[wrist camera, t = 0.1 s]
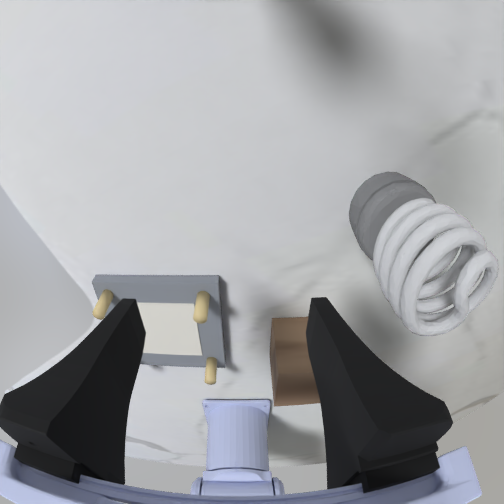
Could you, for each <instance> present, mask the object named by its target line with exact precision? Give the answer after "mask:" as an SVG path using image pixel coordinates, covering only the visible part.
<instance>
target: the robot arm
mask: <svg viewBox="0 0 504 504" xmlns="http://www.w3.org/2000/svg"><path fill="white" fill-rule="evenodd" d="M145 337H146V331H145V328H144V325H143V321H142V318H141V315H140V311H139V308H138V305H137V301H136V299H128V298H123V299H122V300H121V301H120V302H119V303H118V304H117V305H116V306H115V307H114V308H113V309H112V310H111V311H110V313H109V314H108V315H107V316H106V317H105V318H104V319H103V320H102V321H101V322H100V324H99V325H98V326H97V327H96V328H95V329H94V330H93V331H92V332H91V333H90V334H89V335H88V336H87V337H86V338H85V339H84V340H83V341H82V342H81V343H80V344H79V345H78V346H77V347H76V348H75V349H74V350H73V351H71V352H70V353H69V354H68V355H67V356H66V357H64V358H63V359H62V360H61V361H60V362H58V363H57V364H55V365H54V366H53V367H51V368H50V369H49V370H47V371H46V372H44V373H43V374H42V375H40V376H38V377H37V378H35V379H34V380H32V381H30V382H28V383H27V384H25V385H23V386H21V387H19V388H17V389H15V390H13V391H11V392H9V393H6V394H5V395H4V397H3V399H2V401H1V404H0V427H1V428H2V429H3V430H4V431H5V432H6V433H7V434H8V435H9V436H11V437H12V438H13V439H14V440H16V441H17V442H18V445H17V448H15V447H14V446H12V445H10V444H8V443H6V442H4V441H2V440H0V495H1V496H3V497H5V498H7V499H9V500H10V501H12V502H14V503H16V504H124V503H128V504H467V503H468V502H470V501H472V500H474V499H476V498H478V497H480V496H481V495H482V492H481V488H480V485H479V482H478V479H477V476H476V473H475V469H474V467H473V463H472V461H471V458H470V455H469V452H468V449H467V447H466V446H463V447H461V448H458V449H456V450H453V451H451V452H448V453H446V454H444V455H442V456H440V457H438V458H437V456H436V453H435V452H436V451H438V446H437V443H436V441H438V440H439V439H440V438H441V437H442V436H443V435H444V434H445V433H446V432H447V431H448V430H449V429H450V428H451V426H452V424H453V421H452V418H451V416H450V413H449V410H448V408H447V406H446V404H445V402H444V401H442V400H440V399H438V398H436V397H434V396H432V395H430V394H428V393H426V392H425V391H423V390H421V389H420V388H418V387H416V386H415V385H413V384H411V383H410V382H408V381H407V380H406V379H404V378H403V377H401V376H400V375H399V374H397V373H396V372H395V371H393V370H392V369H391V368H390V367H388V366H387V365H386V364H385V363H384V362H382V361H381V360H380V359H379V358H378V357H377V356H376V355H375V354H374V353H373V352H372V351H371V350H370V349H369V348H368V347H367V346H366V345H365V344H364V343H363V342H362V341H361V340H360V339H359V337H358V336H357V335H356V334H355V333H354V332H353V330H352V329H351V328H350V327H349V326H348V325H347V323H346V322H345V321H344V320H343V318H342V317H341V316H340V314H339V313H338V312H337V311H336V309H335V308H334V307H333V305H332V304H331V303H330V301H329V300H328V299H327V298H326V297H321V298H311V304H310V310H309V316H308V322H307V328H306V340H307V347H308V354H309V359H310V362H311V366H312V370H313V374H314V378H315V382H316V386H317V390H318V394H319V398H320V403H321V409H322V417H323V425H324V435H325V446H326V461H327V490H320V491H313V492H304V493H295V494H285V493H284V486H283V483H282V482H281V481H280V480H279V479H278V478H277V477H273V478H272V473H271V471H269V459H268V444H267V428H268V419H269V411H270V401H269V400H203V403H202V404H203V408H204V412H205V416H206V420H207V423H208V439H207V460H206V471H203V477H198V478H197V479H196V480H195V481H194V482H193V483H192V487H191V493H190V494H182V493H172V492H164V491H156V490H149V489H143V488H137V487H132V486H127V485H124V484H125V467H124V457H125V437H126V426H127V417H128V410H129V403H130V399H131V394H132V391H133V387H134V383H135V380H136V376H137V373H138V369H139V366H140V362H141V359H142V355H143V350H144V344H145ZM113 500H114V501H113ZM117 501H118V502H117ZM120 502H123V503H120Z"/></svg>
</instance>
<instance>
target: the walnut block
mask: <svg viewBox="0 0 504 504" xmlns="http://www.w3.org/2000/svg"><path fill="white" fill-rule="evenodd" d="M307 322H308V317H295V318H272V328H271V342H270V365H271V376H272V388H273V399H274V406H288V405H302V404H314V403H320V398H319V394H318V390H317V386H316V382H315V378H314V374H313V370H312V366H311V362H310V359H309V354H308V347H307V340H306V328H307Z"/></svg>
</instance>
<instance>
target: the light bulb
mask: <svg viewBox="0 0 504 504" xmlns="http://www.w3.org/2000/svg"><path fill="white" fill-rule="evenodd" d="M349 219H350V224H351V227H352V229H353V232H354V234H355V236H356V239H357V241H358V243H359V245H360V248H361V250H363V251H364V252H365V253H366V255H367V256H368V257H369V258H370V259H371V260H373V263H374V270H375V273H376V276H377V278H378V280H379V282H380V286H381V289H382V291H383V293H384V296H385V297H386V299H387V300H388V301H389V302H390V304H391V306H392V308H393V310H394V312H395V313H396V315H397V316H398V317H399V318H400V319H402V321H403V324H404V325H405V326H406V327H407V328H408V329H409V330H410V331H411V332H412V333H415V334H418V335H421V336H436V335H440V334H444V333H447V332H449V331H451V330H453V329H454V328H456V327H457V326H459V325H460V324H461V323H462V322H463V321H464V320H465V318H466V316H467V314H469V313H470V312H471V311H472V310H474V309H475V308H476V307H477V306H478V305H479V304H480V303H481V302H482V301H483V300H484V299H485V297H486V296H487V295H488V294H489V292H490V291H491V289H492V287H493V285H494V283H495V281H496V278H497V275H498V270H499V268H498V260H497V258H496V256H495V255H494V254H493V252H492V251H488V250H487V244H486V241H485V238H484V237H483V235H482V234H481V233H480V232H479V231H477V230H475V229H474V228H473V225H472V224H471V222H470V221H469V220H468V219H467V218H465V217H464V216H462V215H459V214H458V213H457V212H456V211H455V210H454V209H453V208H451V207H449V206H447V205H445V204H438V203H436V202H435V200H434V198H433V196H432V195H431V194H430V193H429V192H428V191H427V190H426V188H425V187H423V186H422V185H420V184H419V183H417V182H415V181H414V180H412V179H410V178H408V177H406V176H404V175H401V174H399V173H397V172H385V173H381V174H376V175H374V176H372V177H371V178H369V179H368V180H366V181H365V182H364V183H363V184H362V185H361V186H360V187H359V188H358V189H357V191H356V193H355V195H354V197H353V199H352V201H351V205H350V211H349ZM448 230H450V231H448ZM446 231H447V232H446ZM443 232H445V233H443ZM440 233H443V234H442V235H440V236H439V237H437V238H436V239H435V240H434V241H433V239H434V237H436V236H437V235H438V234H440ZM432 241H433V242H432ZM460 246H462V249H461V252H460V255H459V256H458V258H457V260H456V262H455V263H454V264H453V265H452V267H451V268H450V269H449V270H448V271H447V272H446V273H445V274H443V275H442V276H440V277H439V278H437V279H435V280H433V281H431V282H429V283H426V284H424V282H425V281H427V280H429V279H431V278H433V277H435V276H436V275H438V274H439V273H440V272H442V271H443V270H444V269H445V268H446V267H447V266H448V265H449V264H450V263H451V262H452V261H453V259H454V258H455V256H456V254H457V252H458V250H459V248H460ZM415 259H416V261H415V262H414V264H413V265H412V267H411V269H410V270H409V268H410V266H411V264H412V262H413V261H414V260H415ZM485 268H486V269H485ZM484 269H485V273H484V276H483V278H482V280H481V282H480V284H479V285H478V286H477V288H476V289H475V290H474V291H473V292H472V294H471V295H470V296H468V295H469V292H470V290H471V289H472V287H473V286H474V285H475V283H476V282H477V281H478V279H479V278H480V276H481V274H482V272H483V270H484ZM454 283H455V286H454V288H452V289H451V290H449V291H448V292H446V293H444V294H442V295H440V296H438V297H435V298H432V299H426V300H418V299H423V298H428V297H431V296H434V295H436V294H438V293H440V292H442V291H444V290H446V289H447V288H449V287H450V286H451V285H452V284H454ZM452 304H454V307H453V308H451V309H449V310H446V311H444V312H440V313H435V314H426V313H432V312H436V311H439V310H442V309H444V308H446V307H448V306H450V305H452Z"/></svg>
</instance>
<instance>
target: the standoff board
mask: <svg viewBox="0 0 504 504" xmlns="http://www.w3.org/2000/svg"><path fill="white" fill-rule="evenodd" d="M92 284H93V287H94V290H95V293H96V295H97V298H98V302H97V304H96V306H95V308H94V310H93V316H94V317H95V318H97V319H100V320H102V319H104V317H106V316H107V315H108V314H109V313H110V311H111V310H112V309H113V308H114V307H115V306H116V305H117V304H118V303H119V302H120V301H121V300H122V299H123V298H128V299H136V301H137V305H138V308H139V311H140V315H141V318H142V321H143V325H144V328H145V331H146V337H145V344H144V350H143V355H142V359H141V362H140V364H147V365H161V366H180V367H206V370H205V383H207V384H210V385H212V384H215V383H216V370H217V368H225V360H226V359H225V348H224V337H223V325H222V312H221V299H220V285H219V275H96V276H95V277H94V279H93V281H92Z"/></svg>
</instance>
